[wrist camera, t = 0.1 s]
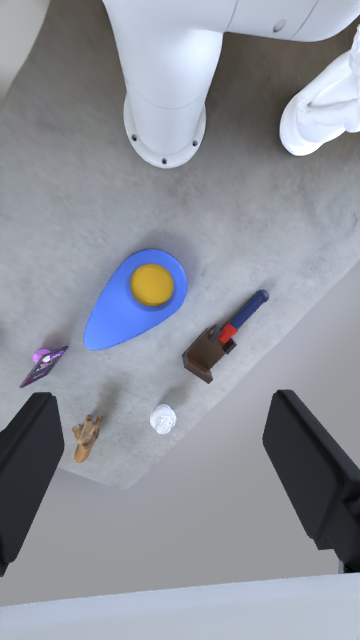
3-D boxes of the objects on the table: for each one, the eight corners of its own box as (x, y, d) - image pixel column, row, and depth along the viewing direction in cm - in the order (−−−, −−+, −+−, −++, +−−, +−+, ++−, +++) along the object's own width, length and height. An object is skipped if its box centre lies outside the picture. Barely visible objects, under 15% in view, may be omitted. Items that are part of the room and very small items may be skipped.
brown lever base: (212, 321, 48) (218, 331, 44) (234, 339, 50) (242, 350, 46) (181, 355, 51) (184, 367, 46) (204, 371, 53) (208, 384, 48)
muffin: (148, 416, 56) (146, 440, 50) (153, 396, 54) (152, 419, 48) (172, 419, 57) (173, 443, 51) (178, 400, 55) (180, 422, 49)
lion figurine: (82, 402, 53) (67, 434, 45) (105, 405, 54) (95, 436, 46) (78, 447, 58) (64, 484, 50) (99, 449, 59) (89, 485, 51)
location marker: (114, 360, 50) (199, 285, 45) (111, 369, 47) (201, 289, 42) (65, 321, 46) (152, 233, 41) (58, 327, 43) (151, 233, 38)
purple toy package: (23, 391, 43) (47, 359, 41) (3, 372, 43) (27, 339, 41) (49, 377, 50) (71, 349, 48) (32, 361, 50) (53, 332, 48)
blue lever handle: (259, 285, 46) (265, 288, 44) (268, 293, 47) (274, 297, 44) (215, 333, 49) (218, 338, 47) (223, 339, 50) (227, 345, 47)
